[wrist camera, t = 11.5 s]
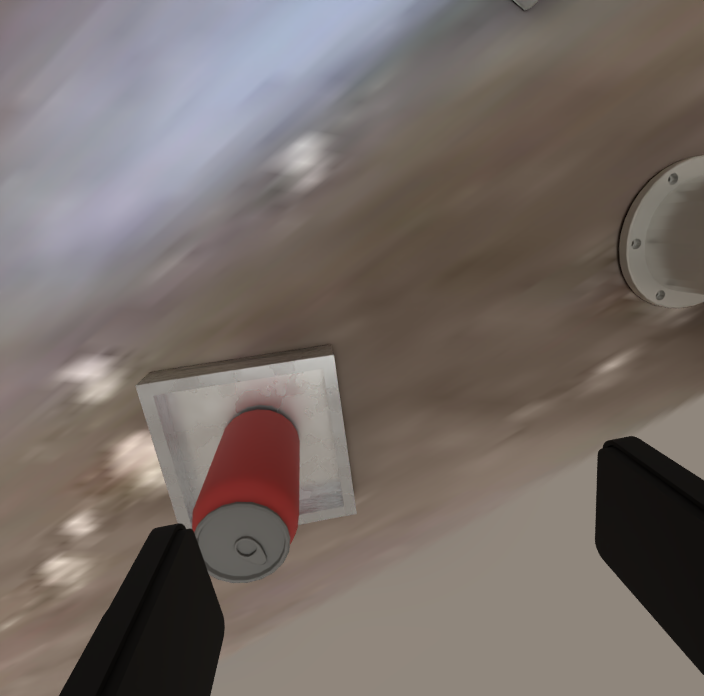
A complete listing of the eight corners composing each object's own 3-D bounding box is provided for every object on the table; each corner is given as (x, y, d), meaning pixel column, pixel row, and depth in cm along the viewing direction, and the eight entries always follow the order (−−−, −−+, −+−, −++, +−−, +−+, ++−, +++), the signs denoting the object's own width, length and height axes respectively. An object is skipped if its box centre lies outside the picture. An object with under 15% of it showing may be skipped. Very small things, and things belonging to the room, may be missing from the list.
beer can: (258, 487, 35) (237, 609, 24) (205, 438, 33) (155, 545, 22) (315, 443, 35) (322, 546, 23) (265, 391, 33) (245, 475, 21)
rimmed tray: (331, 344, 33) (333, 354, 30) (352, 492, 38) (356, 513, 35) (150, 371, 32) (135, 385, 29) (194, 521, 37) (184, 546, 34)
